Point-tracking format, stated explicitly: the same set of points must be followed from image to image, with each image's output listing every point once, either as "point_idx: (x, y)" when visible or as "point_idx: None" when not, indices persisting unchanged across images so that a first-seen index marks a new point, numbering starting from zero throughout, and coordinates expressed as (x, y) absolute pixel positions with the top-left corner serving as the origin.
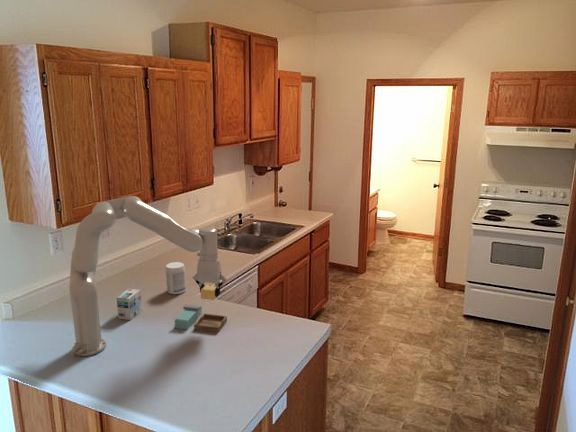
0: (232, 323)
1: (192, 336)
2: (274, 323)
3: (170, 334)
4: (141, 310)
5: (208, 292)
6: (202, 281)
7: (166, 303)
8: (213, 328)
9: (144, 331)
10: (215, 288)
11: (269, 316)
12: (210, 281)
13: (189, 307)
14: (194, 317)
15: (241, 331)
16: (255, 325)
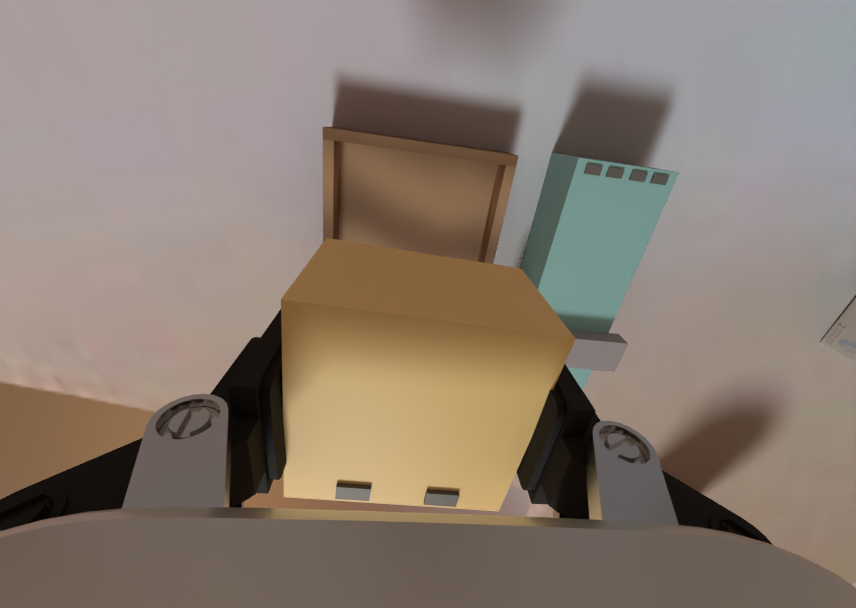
0: (288, 268)
1: (503, 46)
2: (35, 299)
3: (667, 61)
4: (827, 339)
5: (404, 298)
6: (652, 548)
7: (687, 419)
8: (363, 132)
9: (848, 87)
10: (268, 401)
11: (115, 369)
12: (277, 586)
13: (585, 339)
14: (531, 271)
15: (182, 170)
16: (135, 262)
